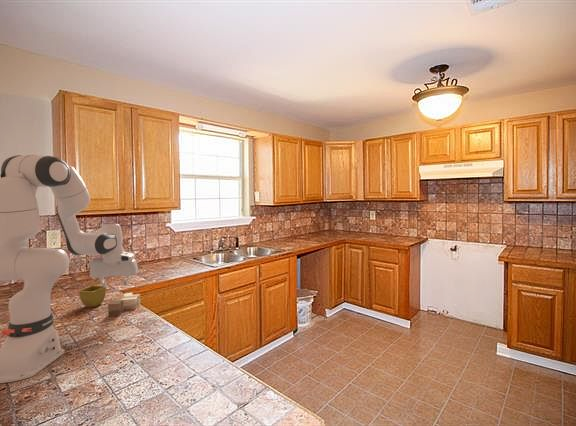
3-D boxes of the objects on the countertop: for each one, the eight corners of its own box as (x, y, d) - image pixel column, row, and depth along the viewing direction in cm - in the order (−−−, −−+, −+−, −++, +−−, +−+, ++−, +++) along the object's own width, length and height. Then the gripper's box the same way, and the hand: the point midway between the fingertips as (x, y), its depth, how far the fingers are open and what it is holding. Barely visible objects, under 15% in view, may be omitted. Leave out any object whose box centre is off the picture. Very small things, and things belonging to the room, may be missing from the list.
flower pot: (93, 309, 152) (92, 291, 151) (79, 308, 154) (77, 290, 153) (107, 302, 161) (106, 286, 160) (93, 301, 162) (92, 285, 162)
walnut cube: (120, 315, 144) (119, 303, 143) (108, 316, 143) (107, 304, 142) (123, 311, 149) (123, 299, 148) (112, 312, 148) (111, 300, 147)
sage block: (132, 302, 162) (132, 294, 161) (124, 303, 160) (123, 295, 160) (132, 299, 165) (132, 292, 165) (124, 300, 163) (123, 293, 163)
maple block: (136, 308, 152) (135, 298, 152) (121, 309, 151) (120, 299, 151) (140, 303, 159) (140, 294, 159) (126, 304, 158) (125, 295, 158)
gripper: (85, 259, 139) (88, 289, 140) (134, 257, 143) (136, 285, 144) (91, 256, 145) (94, 284, 146) (138, 253, 149) (139, 281, 150)
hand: (115, 285), depth 145 cm, fingers open, 8 cm apart
